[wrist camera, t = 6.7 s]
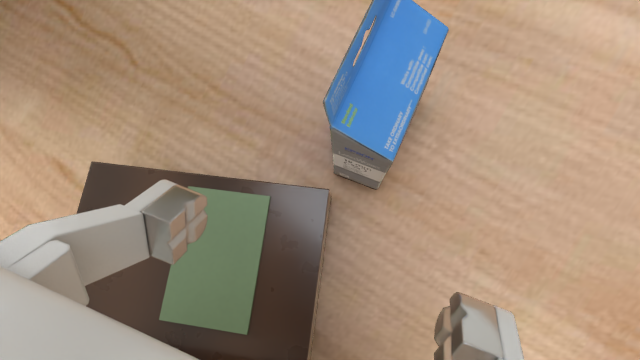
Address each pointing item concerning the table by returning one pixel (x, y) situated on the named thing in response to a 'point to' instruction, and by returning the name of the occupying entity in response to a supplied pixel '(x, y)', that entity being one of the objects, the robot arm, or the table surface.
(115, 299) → the desk shelf
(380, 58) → the blue cardboard box
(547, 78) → the table surface
